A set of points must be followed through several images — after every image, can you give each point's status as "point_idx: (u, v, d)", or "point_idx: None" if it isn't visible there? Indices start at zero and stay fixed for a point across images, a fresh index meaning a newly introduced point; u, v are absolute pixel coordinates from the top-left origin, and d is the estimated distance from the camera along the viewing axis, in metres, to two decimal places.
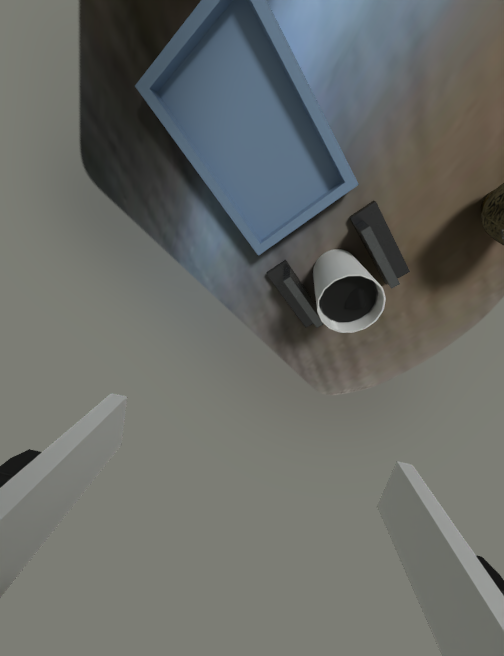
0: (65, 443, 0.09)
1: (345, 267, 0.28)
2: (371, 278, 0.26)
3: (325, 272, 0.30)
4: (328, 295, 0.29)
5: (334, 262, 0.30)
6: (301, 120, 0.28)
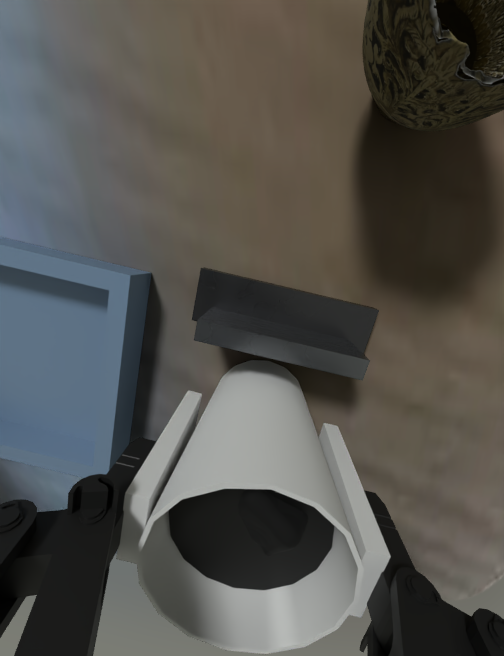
0: (172, 432, 0.11)
1: (184, 454, 0.10)
2: (216, 484, 0.07)
3: None
4: (200, 550, 0.10)
5: None
6: (5, 269, 0.16)
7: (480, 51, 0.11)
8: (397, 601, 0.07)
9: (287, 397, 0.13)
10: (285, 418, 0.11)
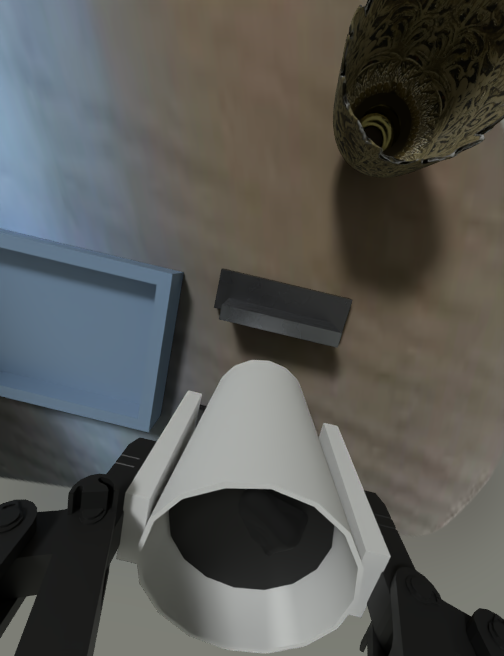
0: (172, 432, 0.11)
1: (185, 454, 0.10)
2: (217, 484, 0.07)
3: None
4: (200, 549, 0.10)
5: None
6: (75, 269, 0.21)
7: (414, 123, 0.16)
8: (397, 601, 0.07)
9: (287, 397, 0.13)
10: (285, 418, 0.11)
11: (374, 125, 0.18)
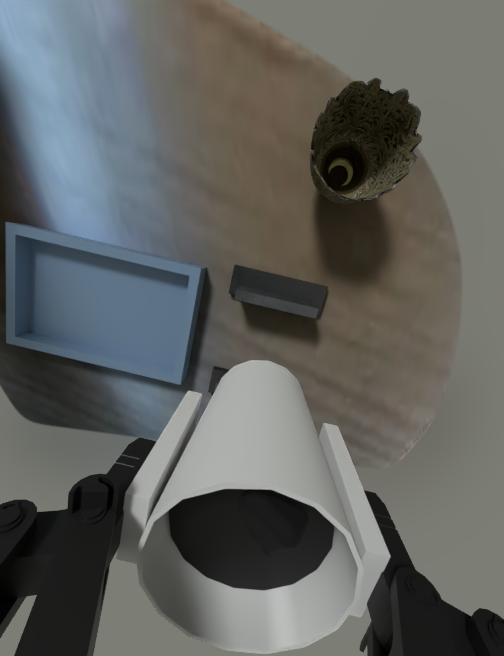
0: (172, 432, 0.11)
1: (185, 454, 0.10)
2: (216, 485, 0.07)
3: None
4: (200, 550, 0.10)
5: None
6: (127, 265, 0.29)
7: (366, 166, 0.25)
8: (397, 601, 0.07)
9: (287, 397, 0.13)
10: (285, 418, 0.11)
11: (341, 165, 0.26)
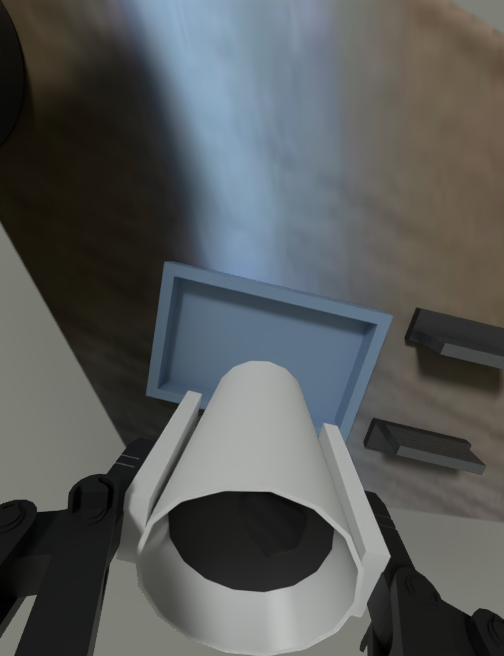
0: (172, 432, 0.11)
1: (184, 456, 0.10)
2: (216, 487, 0.07)
3: None
4: (199, 551, 0.10)
5: None
6: (291, 308, 0.25)
7: None
8: (397, 601, 0.07)
9: (287, 398, 0.13)
10: (285, 419, 0.11)
11: None
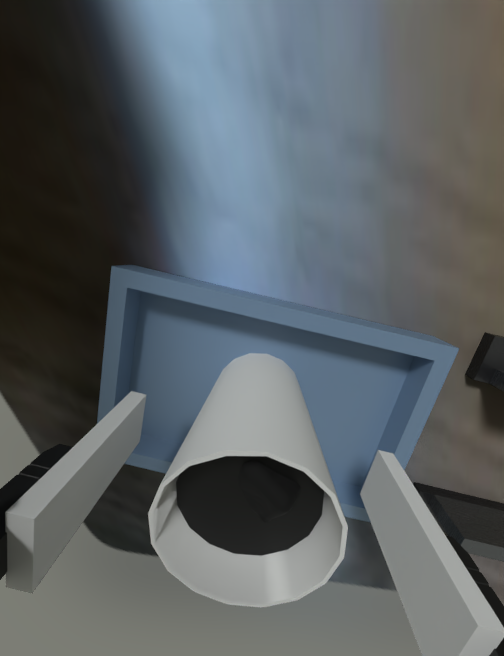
0: (94, 438, 0.10)
1: (190, 433, 0.11)
2: (219, 452, 0.08)
3: None
4: (204, 518, 0.11)
5: None
6: (303, 333, 0.17)
7: None
8: None
9: (283, 385, 0.14)
10: (280, 402, 0.12)
11: None
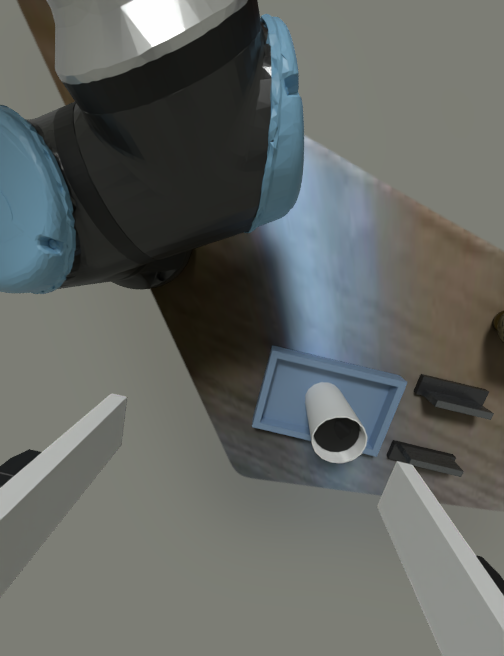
0: (65, 443, 0.09)
1: (316, 413, 0.35)
2: (334, 416, 0.32)
3: (309, 421, 0.37)
4: (321, 439, 0.35)
5: (310, 408, 0.38)
6: (344, 374, 0.41)
7: None
8: None
9: (341, 397, 0.38)
10: (343, 403, 0.36)
11: None
